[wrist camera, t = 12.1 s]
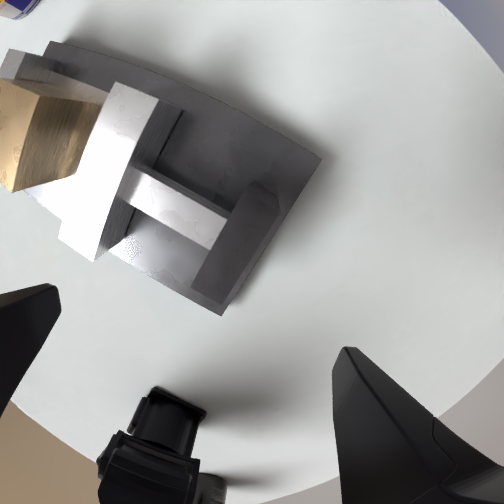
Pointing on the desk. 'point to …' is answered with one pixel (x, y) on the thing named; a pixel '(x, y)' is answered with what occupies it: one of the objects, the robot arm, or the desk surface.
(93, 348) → the desk surface
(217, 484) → the supplement bottle
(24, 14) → the energy drink
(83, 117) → the wooden cube
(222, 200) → the press bed
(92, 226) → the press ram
